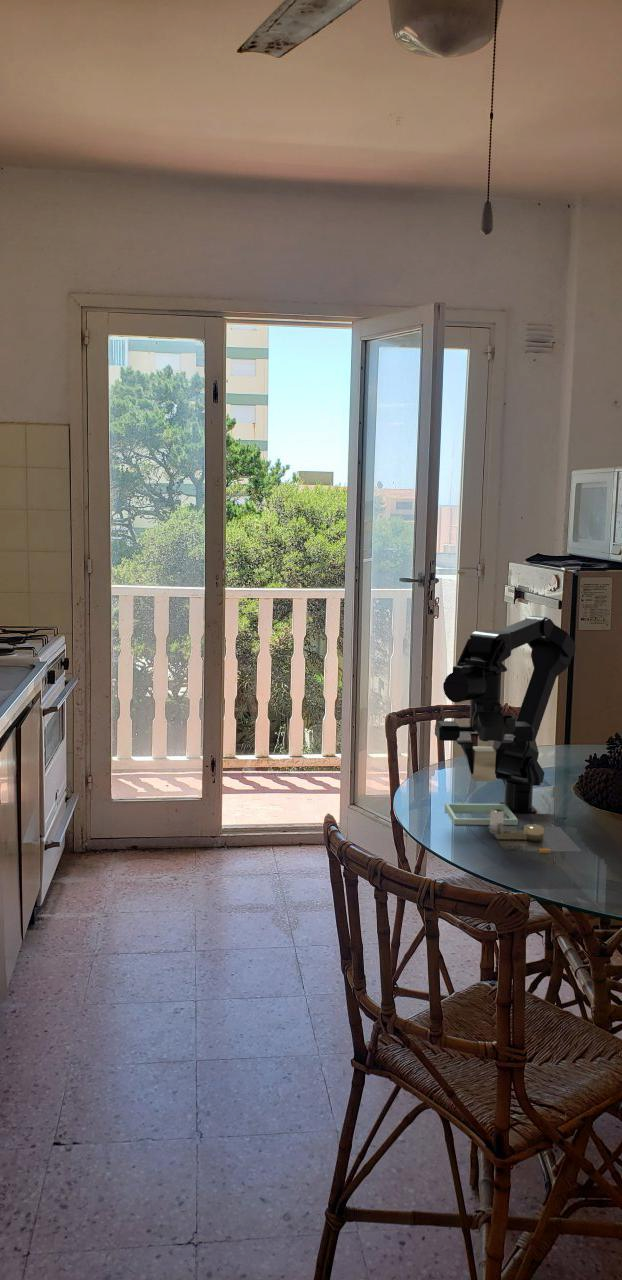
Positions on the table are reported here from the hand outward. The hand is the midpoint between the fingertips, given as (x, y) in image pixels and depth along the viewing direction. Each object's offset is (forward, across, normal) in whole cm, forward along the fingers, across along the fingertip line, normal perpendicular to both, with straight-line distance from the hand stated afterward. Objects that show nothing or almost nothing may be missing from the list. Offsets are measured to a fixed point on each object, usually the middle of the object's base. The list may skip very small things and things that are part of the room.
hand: (482, 773), depth 195 cm
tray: (+10, 0, 0) cm, 10 cm away
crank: (+8, +4, -14) cm, 16 cm away
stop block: (+1, 0, 0) cm, 1 cm away
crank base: (+10, +7, -14) cm, 18 cm away
